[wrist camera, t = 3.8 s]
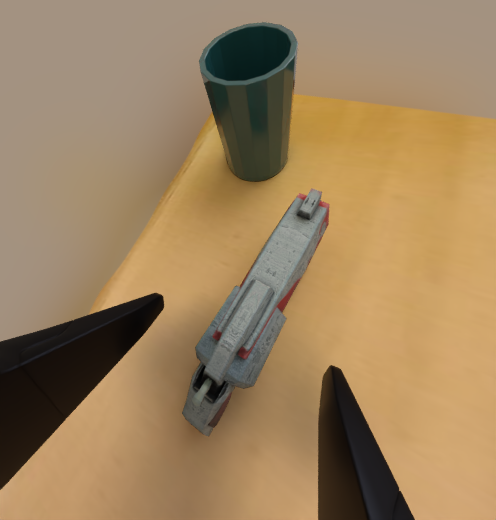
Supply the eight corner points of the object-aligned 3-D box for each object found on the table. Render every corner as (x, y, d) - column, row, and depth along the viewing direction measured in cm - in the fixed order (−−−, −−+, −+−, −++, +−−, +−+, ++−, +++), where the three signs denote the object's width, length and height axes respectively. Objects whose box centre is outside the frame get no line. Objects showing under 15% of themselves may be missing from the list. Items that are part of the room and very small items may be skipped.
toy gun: (313, 255, 22) (351, 190, 13) (221, 440, 15) (170, 570, 6) (280, 240, 23) (295, 171, 15) (180, 404, 16) (86, 469, 7)
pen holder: (266, 190, 22) (260, 95, 13) (217, 167, 24) (180, 71, 15) (299, 146, 23) (316, 30, 14) (249, 127, 26) (235, 17, 16)
